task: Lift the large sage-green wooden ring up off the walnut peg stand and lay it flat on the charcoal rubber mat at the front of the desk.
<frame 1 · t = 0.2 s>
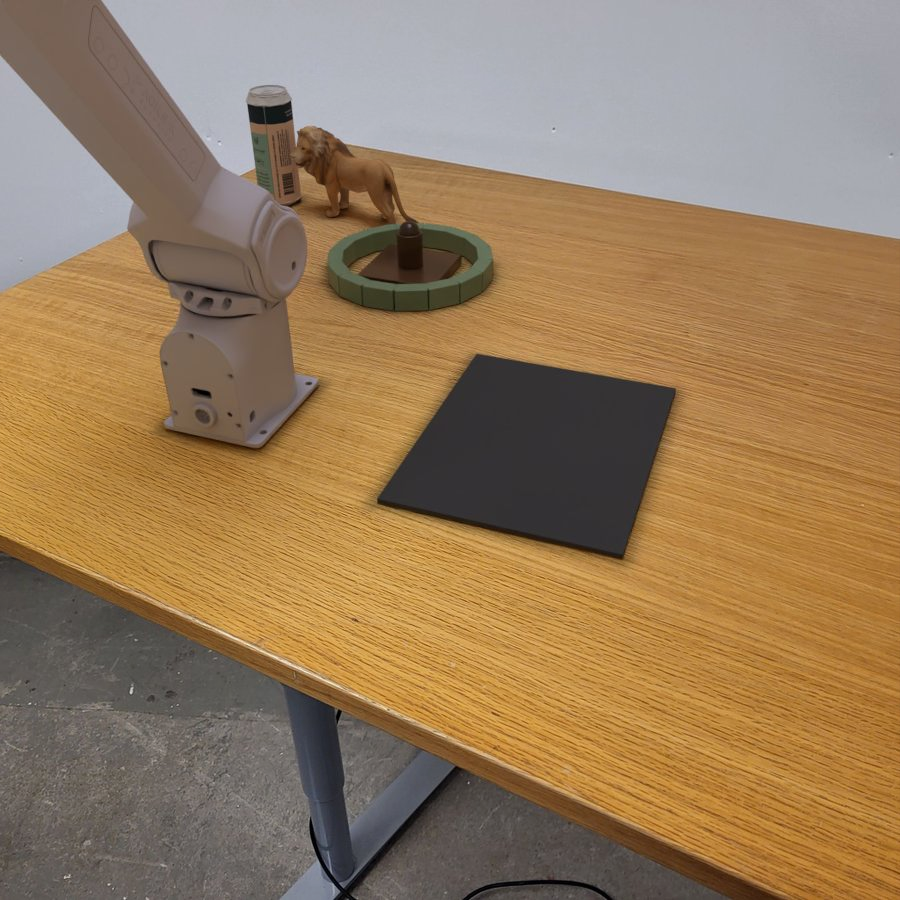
beer can: (280, 202, 105), on the table
mat: (538, 443, 66), on the table
peg stand: (410, 274, 89), on the table
lion figurine: (354, 220, 100), on the table
ring: (410, 274, 89), on the table
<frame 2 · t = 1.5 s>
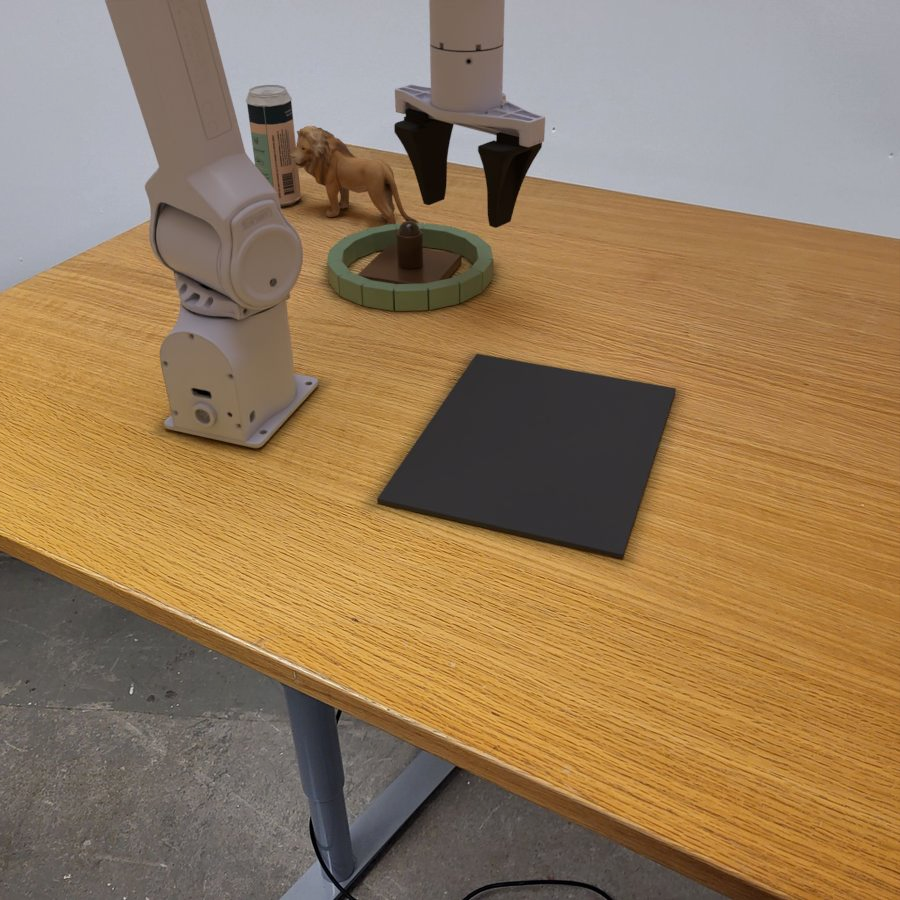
hand: (466, 212, 80), 8 cm above the table, tool pointing down, fingers open, 7 cm apart
nothing on the table moved.
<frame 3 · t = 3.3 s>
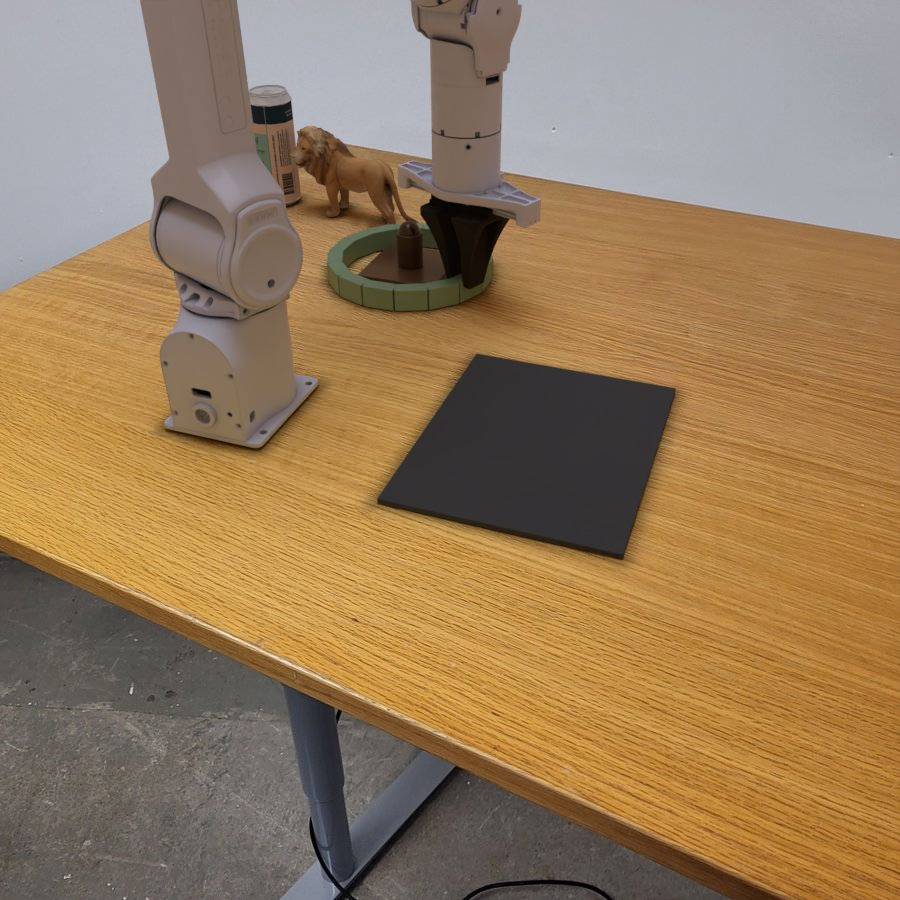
hand: (465, 281, 84), 1 cm above the table, tool pointing down, fingers closed on ring, 1 cm apart
ring: (410, 273, 89), on the table, touching gripper
everything else where it was.
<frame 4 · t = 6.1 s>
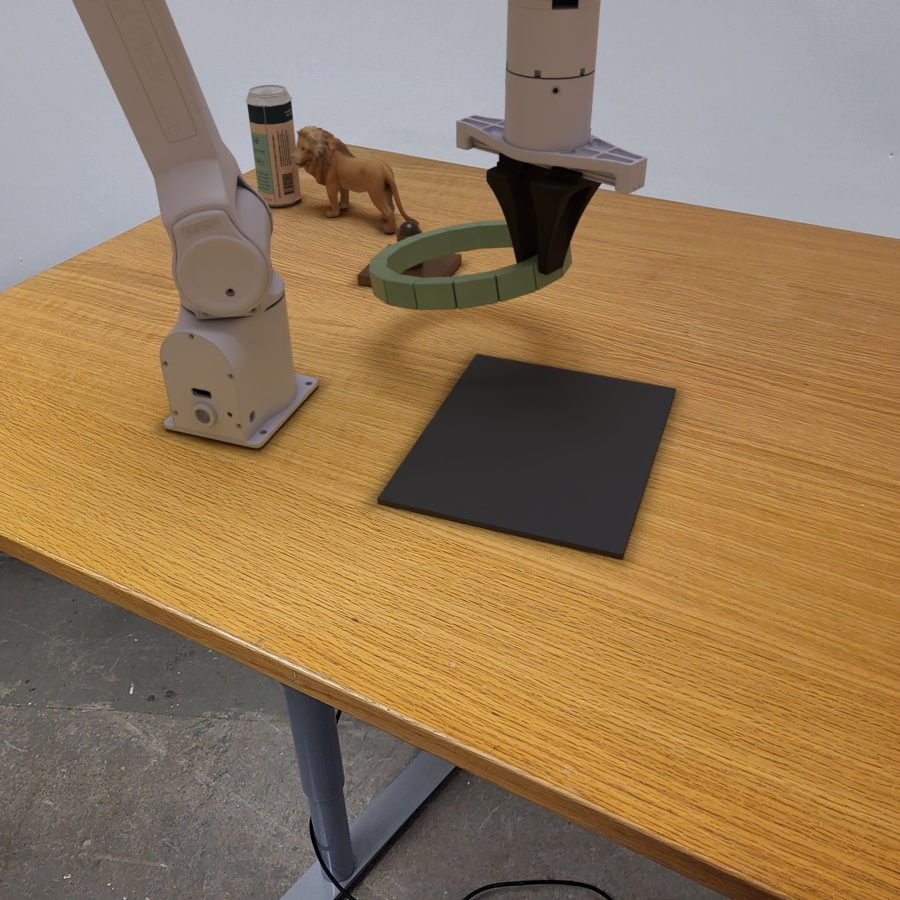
hand: (539, 265, 67), 9 cm above the table, tool pointing down, fingers closed on ring
ring: (471, 273, 73), point 7 cm above the table, tilted 11°, touching gripper
everything else where it was.
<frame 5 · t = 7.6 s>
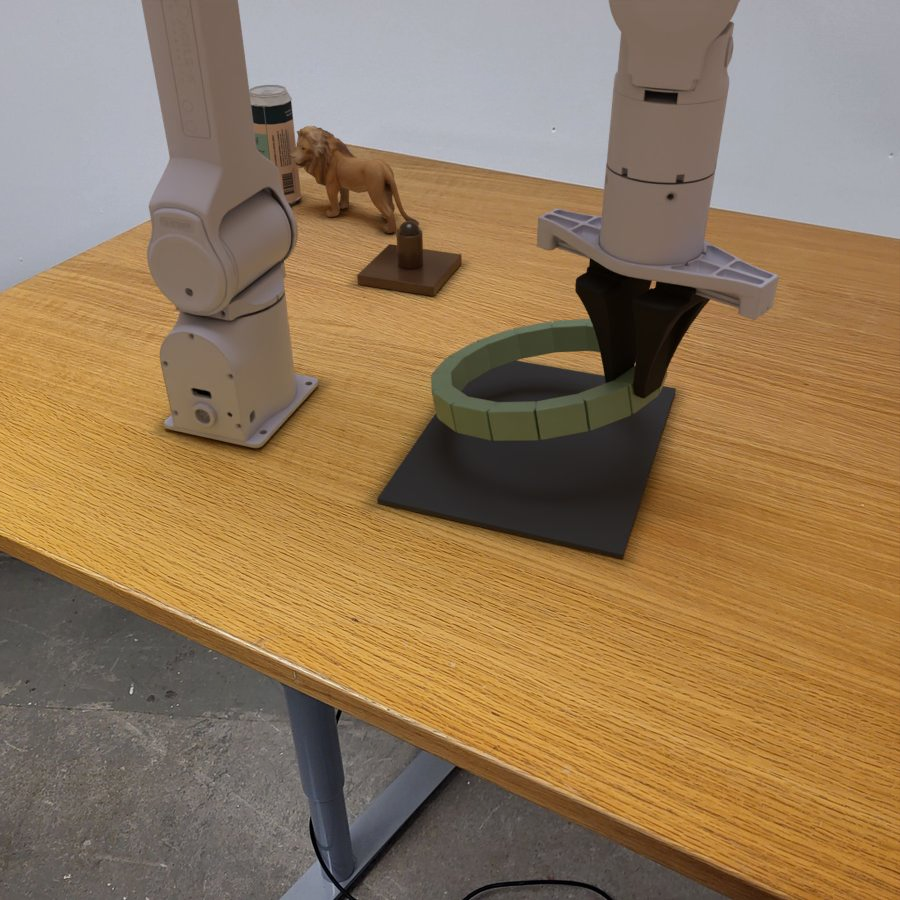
hand: (633, 384, 57), 8 cm above the table, tool pointing down, fingers closed on ring
ring: (548, 388, 63), point 5 cm above the table, tilted 14°, touching gripper
everything else where it was.
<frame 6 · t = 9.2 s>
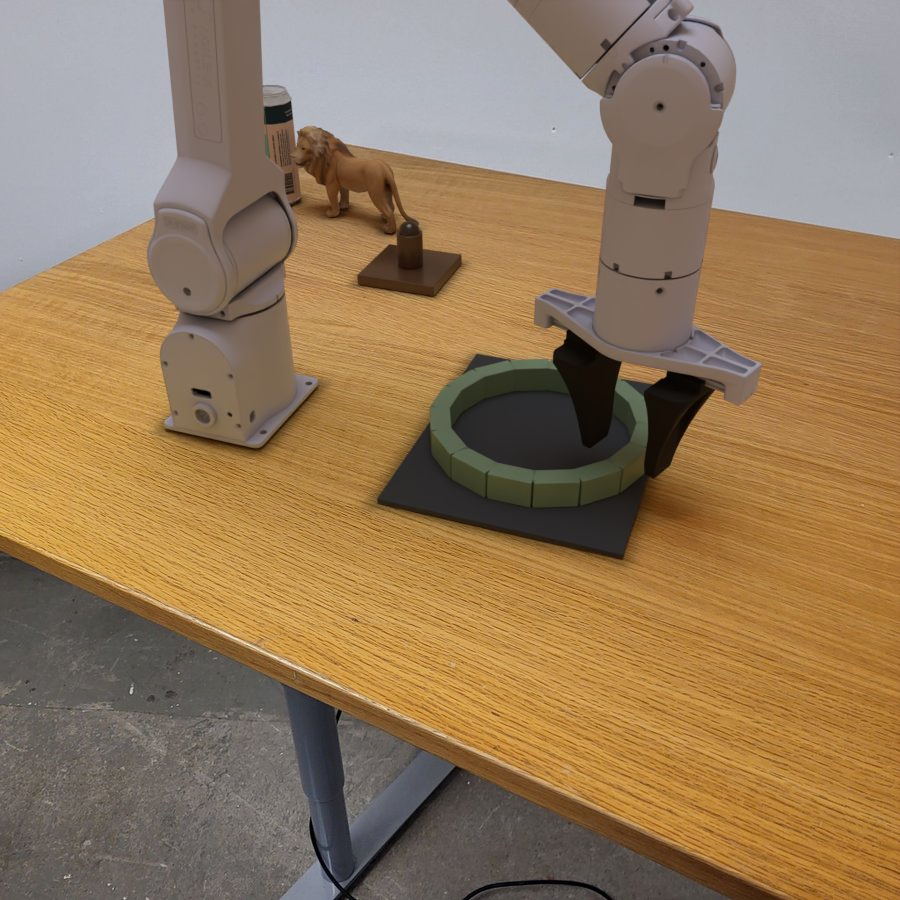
hand: (625, 454, 60), 2 cm above the table, tool pointing down, fingers open, 4 cm apart
ring: (540, 438, 65), resting on mat
everything else where it was.
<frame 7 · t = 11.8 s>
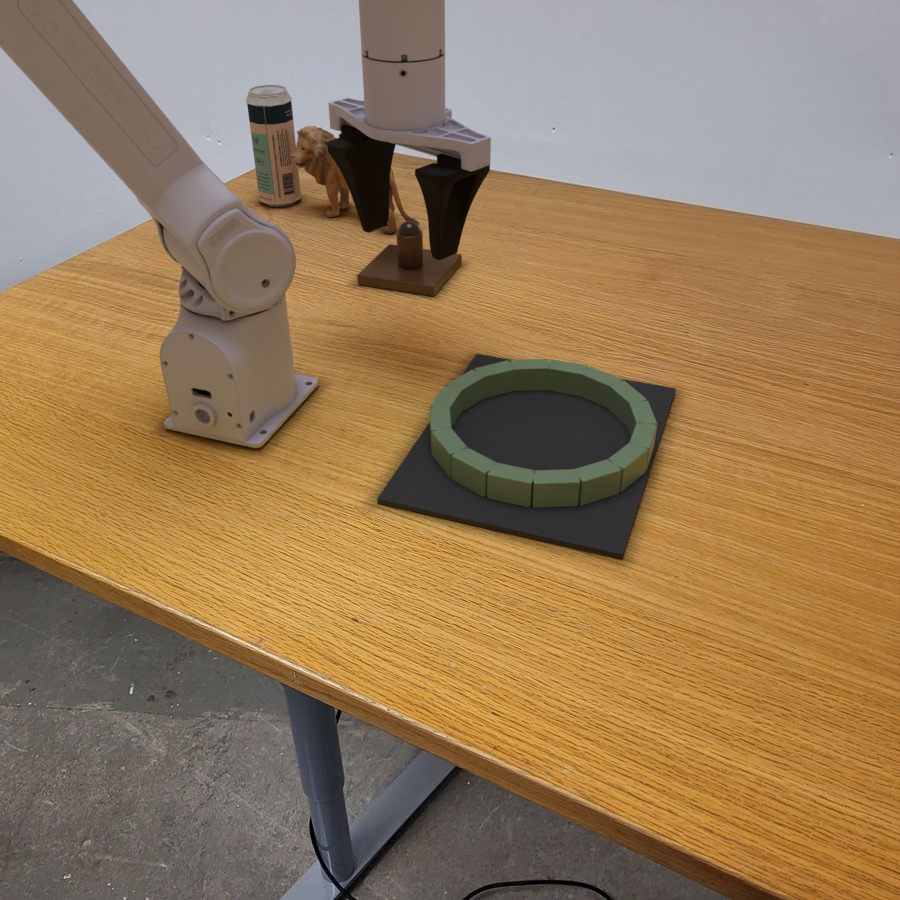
hand: (409, 241, 71), 9 cm above the table, tool pointing down, fingers open, 7 cm apart
nothing on the table moved.
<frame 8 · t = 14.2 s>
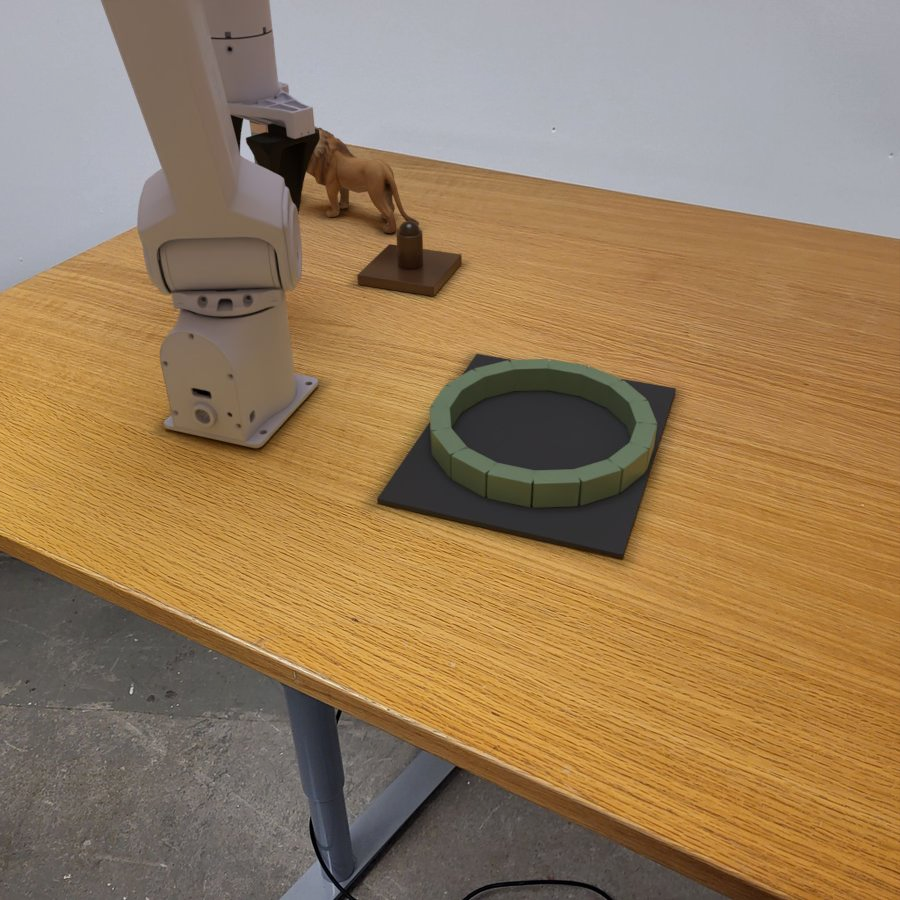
hand: (256, 207, 77), 9 cm above the table, tool pointing down, fingers open, 7 cm apart
nothing on the table moved.
at the end: ring inside the target area on the mat (0.1 cm from its centre), point 0.4 cm above the mat's base; ring touching mat; the gripper is holding nothing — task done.
